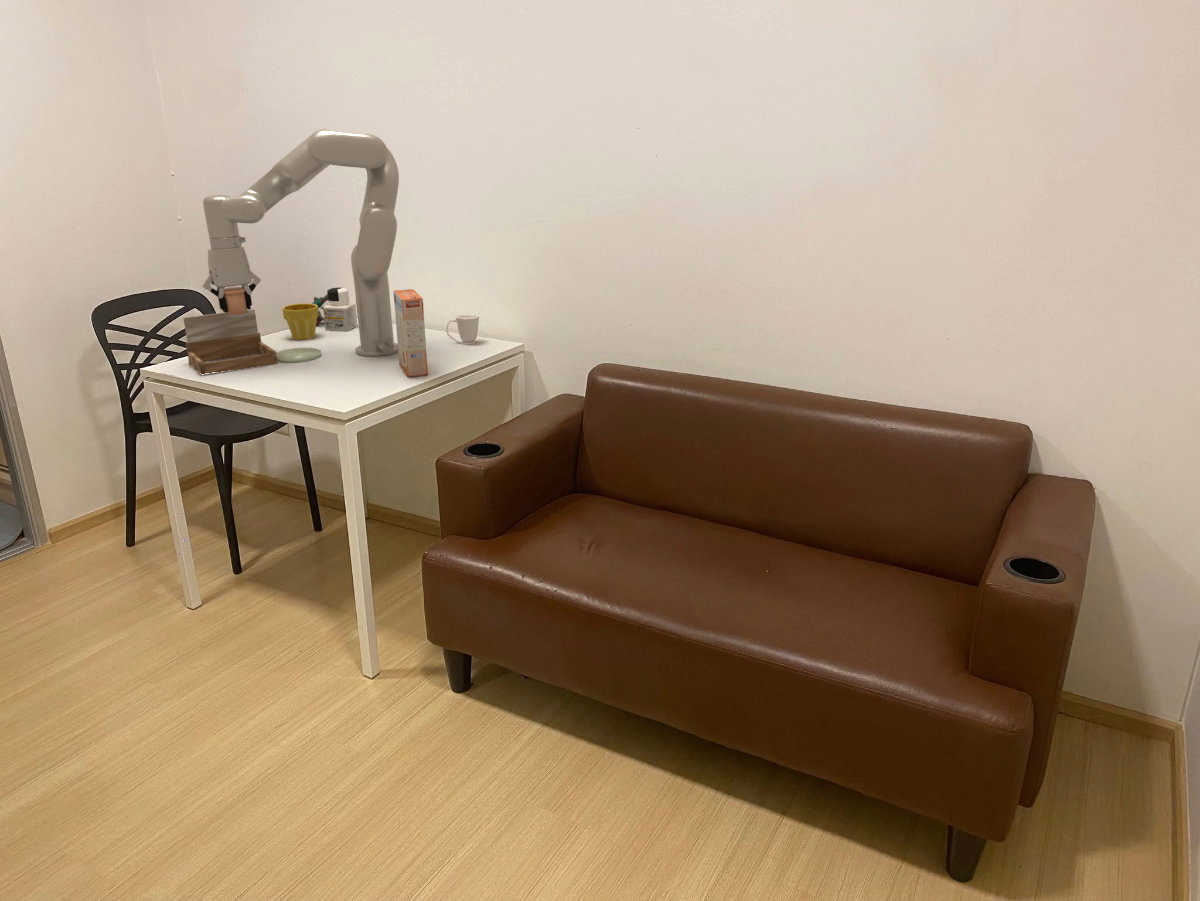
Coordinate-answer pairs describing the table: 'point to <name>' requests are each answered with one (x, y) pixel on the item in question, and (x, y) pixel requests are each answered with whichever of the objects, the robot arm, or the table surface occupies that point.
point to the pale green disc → (298, 355)
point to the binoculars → (319, 303)
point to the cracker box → (410, 332)
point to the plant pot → (301, 320)
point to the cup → (466, 328)
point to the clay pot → (235, 300)
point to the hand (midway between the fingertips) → (236, 309)
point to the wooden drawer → (226, 342)
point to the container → (339, 311)
